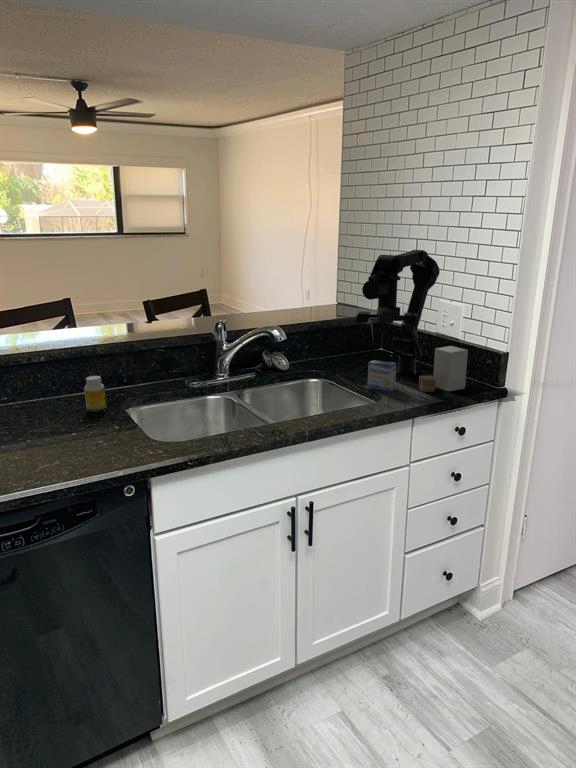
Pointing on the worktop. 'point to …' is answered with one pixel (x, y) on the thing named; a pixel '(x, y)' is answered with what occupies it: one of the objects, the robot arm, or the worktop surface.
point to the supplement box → (450, 368)
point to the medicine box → (381, 375)
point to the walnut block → (427, 383)
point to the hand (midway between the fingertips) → (385, 344)
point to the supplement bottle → (94, 393)
